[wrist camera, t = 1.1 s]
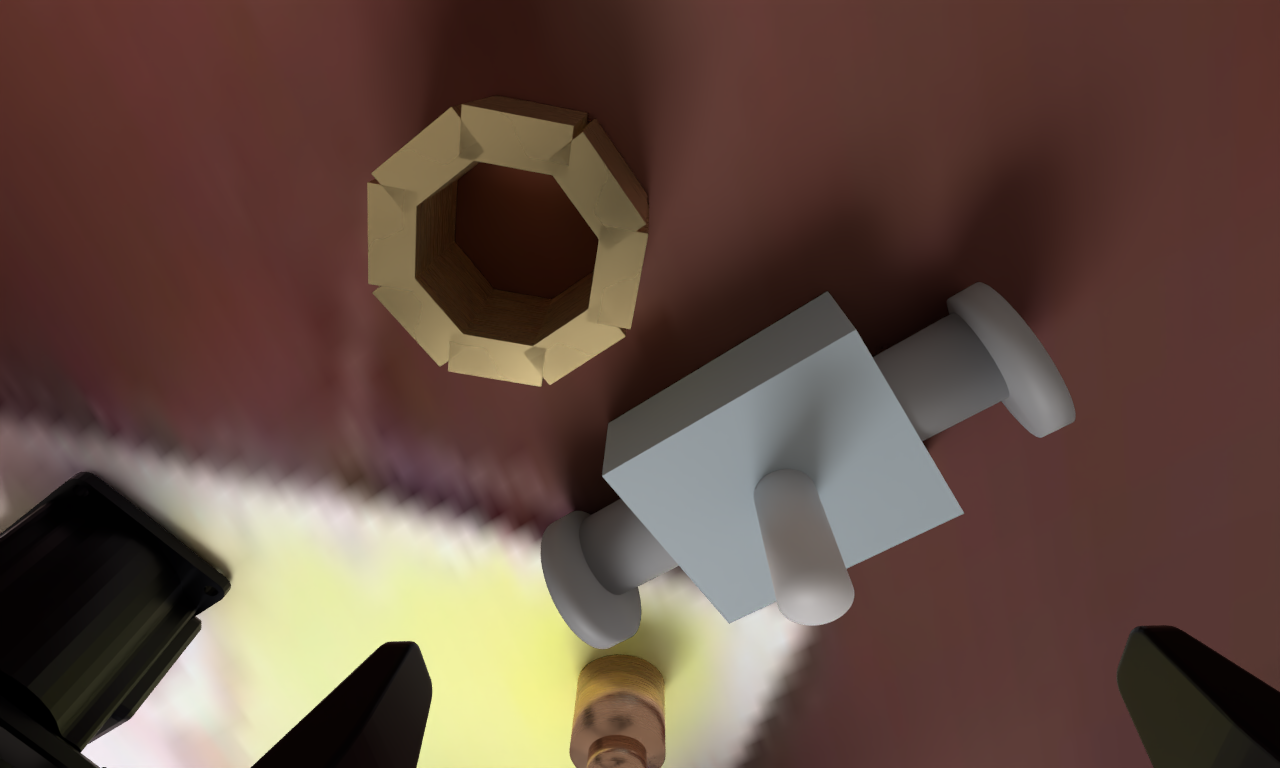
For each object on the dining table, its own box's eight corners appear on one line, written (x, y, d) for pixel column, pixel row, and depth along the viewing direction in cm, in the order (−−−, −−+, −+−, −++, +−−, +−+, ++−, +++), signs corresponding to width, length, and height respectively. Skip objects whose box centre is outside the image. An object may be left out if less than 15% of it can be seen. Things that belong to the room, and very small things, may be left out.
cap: (560, 676, 27) (546, 771, 23) (631, 641, 26) (628, 735, 22) (611, 724, 28) (605, 820, 25) (681, 693, 27) (685, 789, 24)
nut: (369, 195, 18) (309, 224, 15) (548, 47, 16) (524, 46, 13) (515, 366, 20) (491, 423, 17) (686, 253, 19) (693, 293, 16)
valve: (644, 598, 25) (641, 781, 19) (527, 471, 22) (479, 634, 16) (1026, 406, 21) (1186, 557, 15) (936, 225, 18) (1083, 314, 12)
